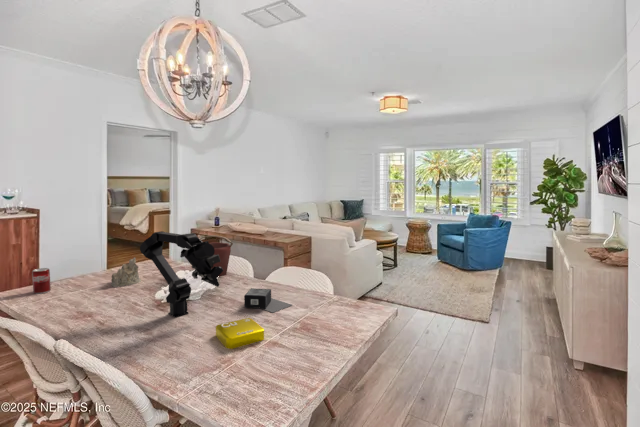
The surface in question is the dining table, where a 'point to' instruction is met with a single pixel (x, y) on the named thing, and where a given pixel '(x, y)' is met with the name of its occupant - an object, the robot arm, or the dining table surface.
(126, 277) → the jagged grey rock
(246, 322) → the element tile
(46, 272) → the soda can
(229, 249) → the bucket
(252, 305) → the small box
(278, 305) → the dark rubber mat
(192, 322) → the dining table surface
